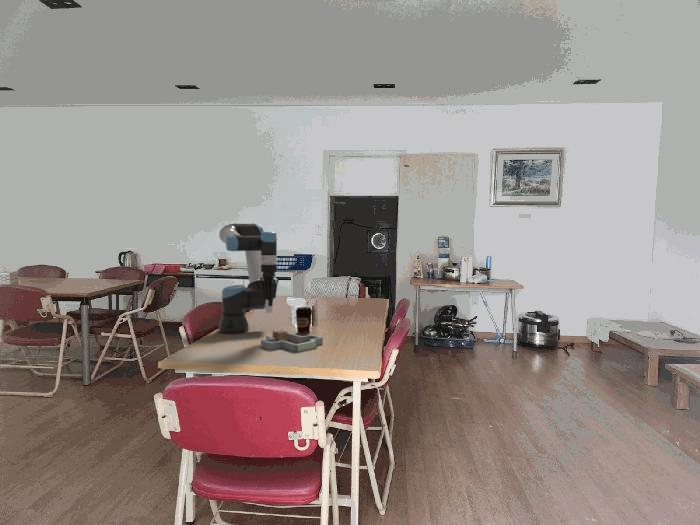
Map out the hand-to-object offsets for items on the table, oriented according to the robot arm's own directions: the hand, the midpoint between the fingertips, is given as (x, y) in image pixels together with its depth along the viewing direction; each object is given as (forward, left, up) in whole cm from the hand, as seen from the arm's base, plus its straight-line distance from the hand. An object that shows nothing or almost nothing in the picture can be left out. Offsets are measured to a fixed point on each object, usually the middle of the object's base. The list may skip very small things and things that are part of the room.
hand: (269, 312), depth 231 cm
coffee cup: (+2, +20, -13) cm, 24 cm away
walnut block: (+9, 0, -13) cm, 16 cm away
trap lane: (+17, 0, -13) cm, 21 cm away
